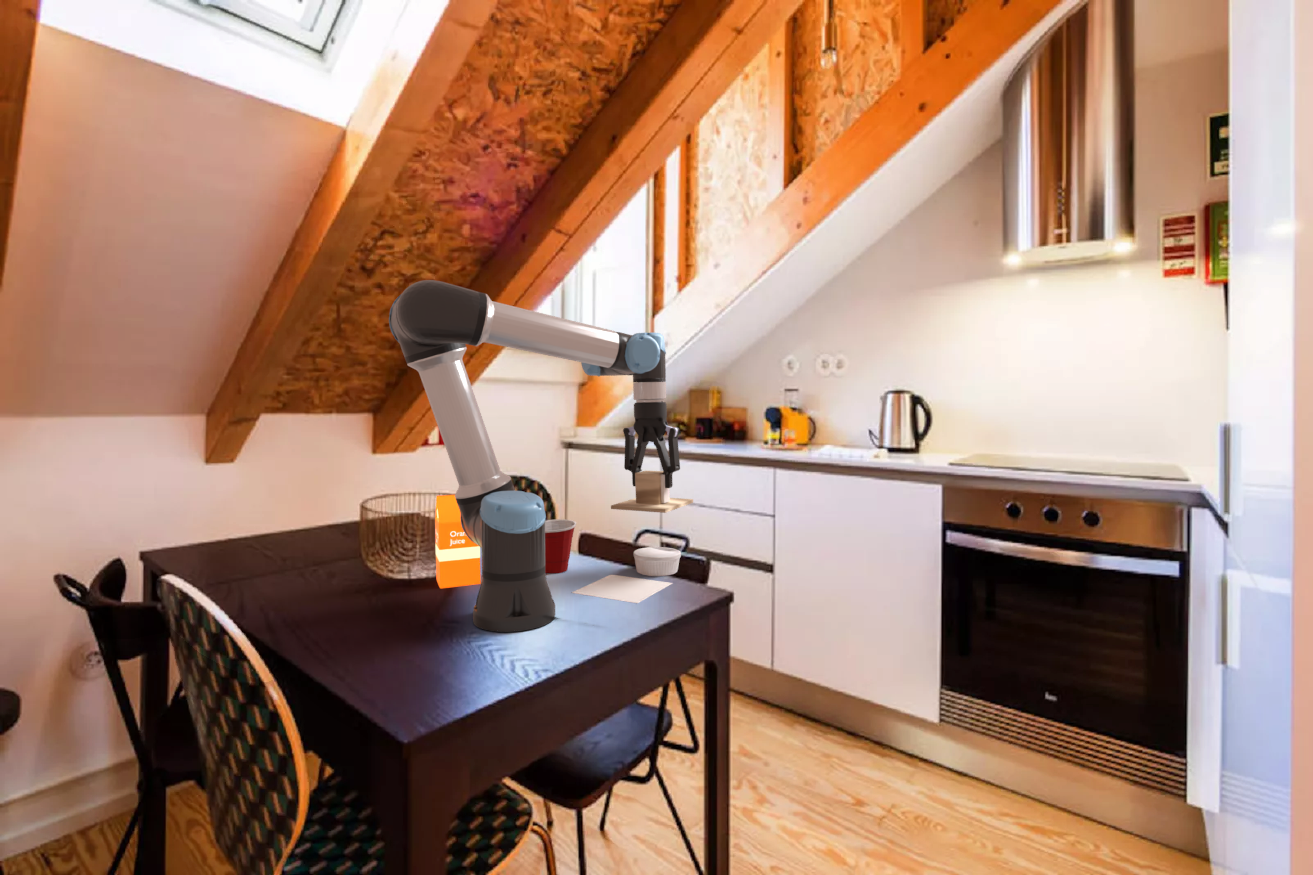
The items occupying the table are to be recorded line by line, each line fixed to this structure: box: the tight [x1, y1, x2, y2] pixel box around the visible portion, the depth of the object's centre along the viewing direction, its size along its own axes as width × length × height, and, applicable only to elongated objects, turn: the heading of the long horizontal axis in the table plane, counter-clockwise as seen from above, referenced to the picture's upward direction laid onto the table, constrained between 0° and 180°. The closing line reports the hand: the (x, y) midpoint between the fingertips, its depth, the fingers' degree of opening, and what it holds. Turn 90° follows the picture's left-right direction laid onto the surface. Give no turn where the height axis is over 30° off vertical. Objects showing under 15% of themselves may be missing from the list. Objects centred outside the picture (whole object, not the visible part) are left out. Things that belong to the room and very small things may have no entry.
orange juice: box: [434, 494, 482, 589], centre depth 147 cm, size 8×9×20 cm
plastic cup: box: [545, 518, 577, 575], centre depth 155 cm, size 11×11×12 cm
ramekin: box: [633, 546, 682, 577], centre depth 154 cm, size 11×11×5 cm
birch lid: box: [610, 470, 694, 514], centre depth 150 cm, size 14×14×8 cm
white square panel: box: [571, 574, 673, 604], centre depth 140 cm, size 16×16×1 cm
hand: (652, 501), depth 150 cm, fingers closed on birch lid, 6 cm apart
